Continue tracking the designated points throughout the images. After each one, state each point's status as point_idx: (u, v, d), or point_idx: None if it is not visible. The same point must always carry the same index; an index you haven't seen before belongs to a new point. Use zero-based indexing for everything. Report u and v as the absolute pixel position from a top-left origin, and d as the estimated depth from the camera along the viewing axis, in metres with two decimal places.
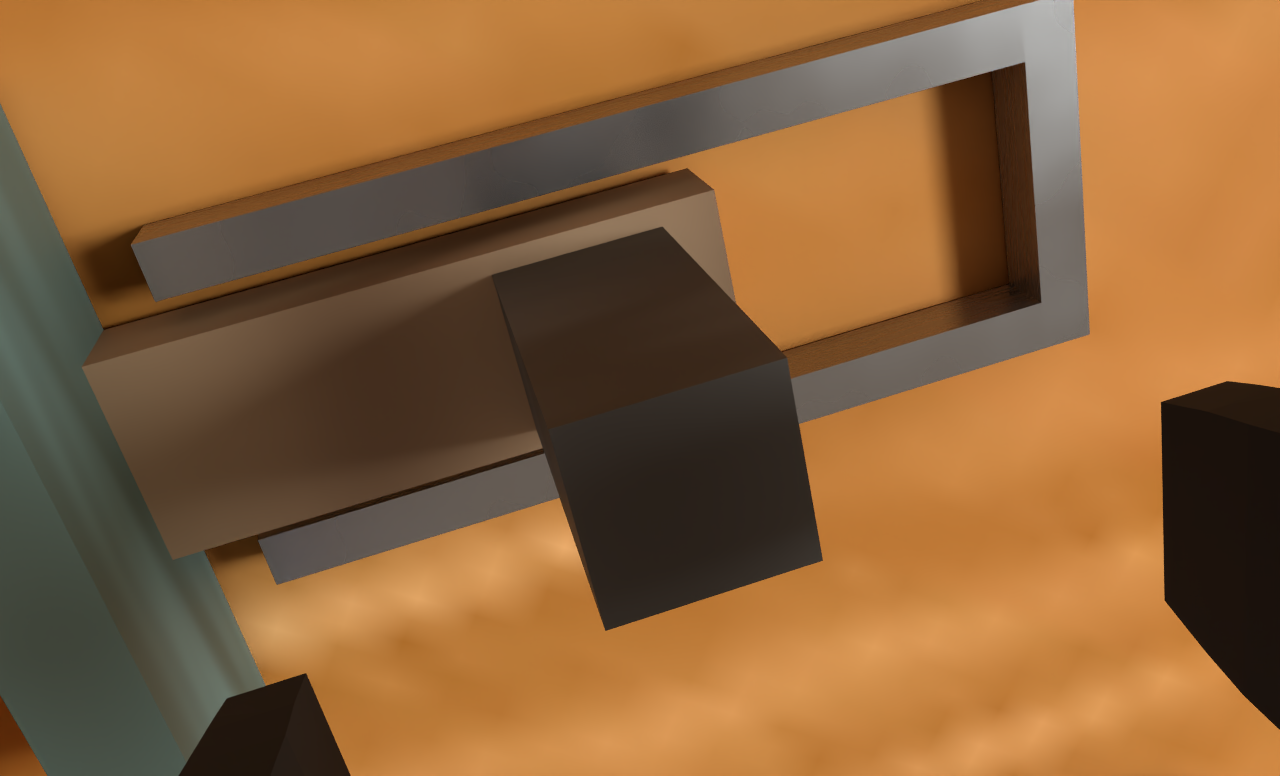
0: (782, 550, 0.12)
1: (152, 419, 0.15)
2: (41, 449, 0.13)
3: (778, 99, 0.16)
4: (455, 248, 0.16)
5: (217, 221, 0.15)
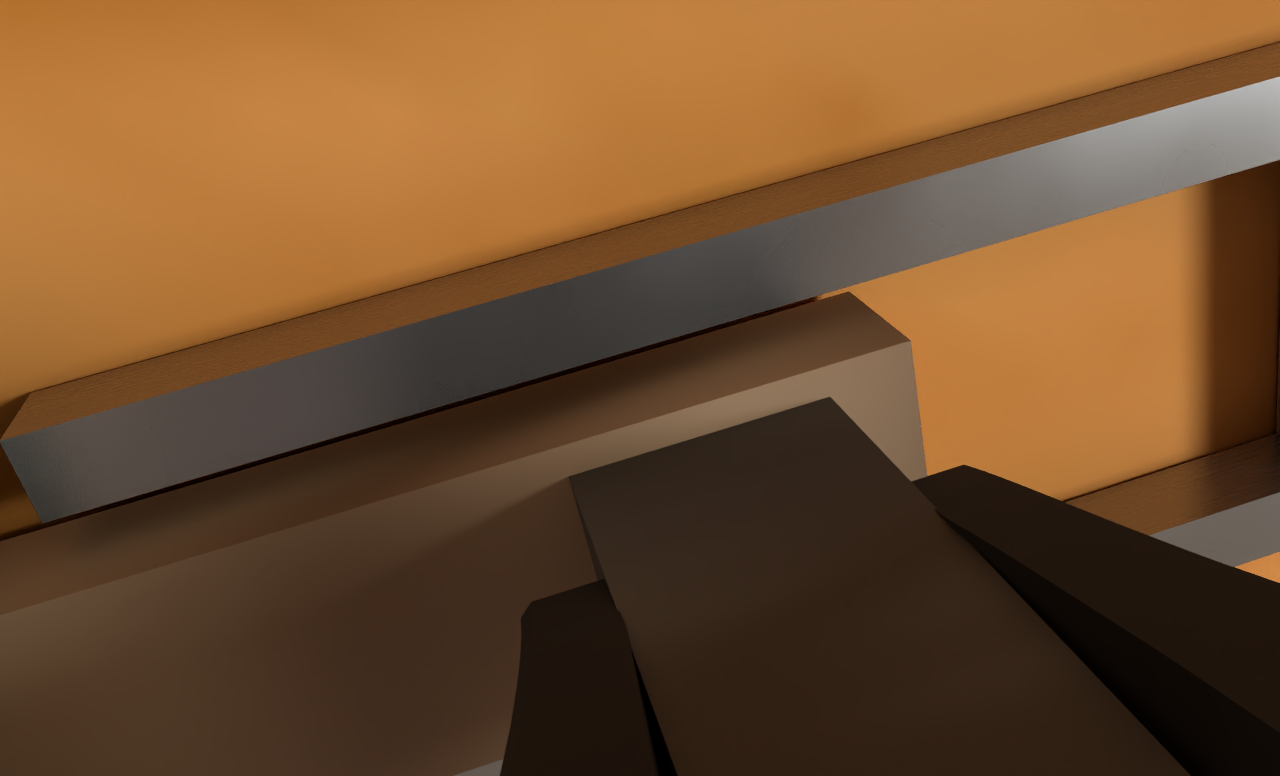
0: None
1: (36, 709, 0.10)
2: None
3: (1004, 197, 0.10)
4: (510, 428, 0.10)
5: (138, 401, 0.09)
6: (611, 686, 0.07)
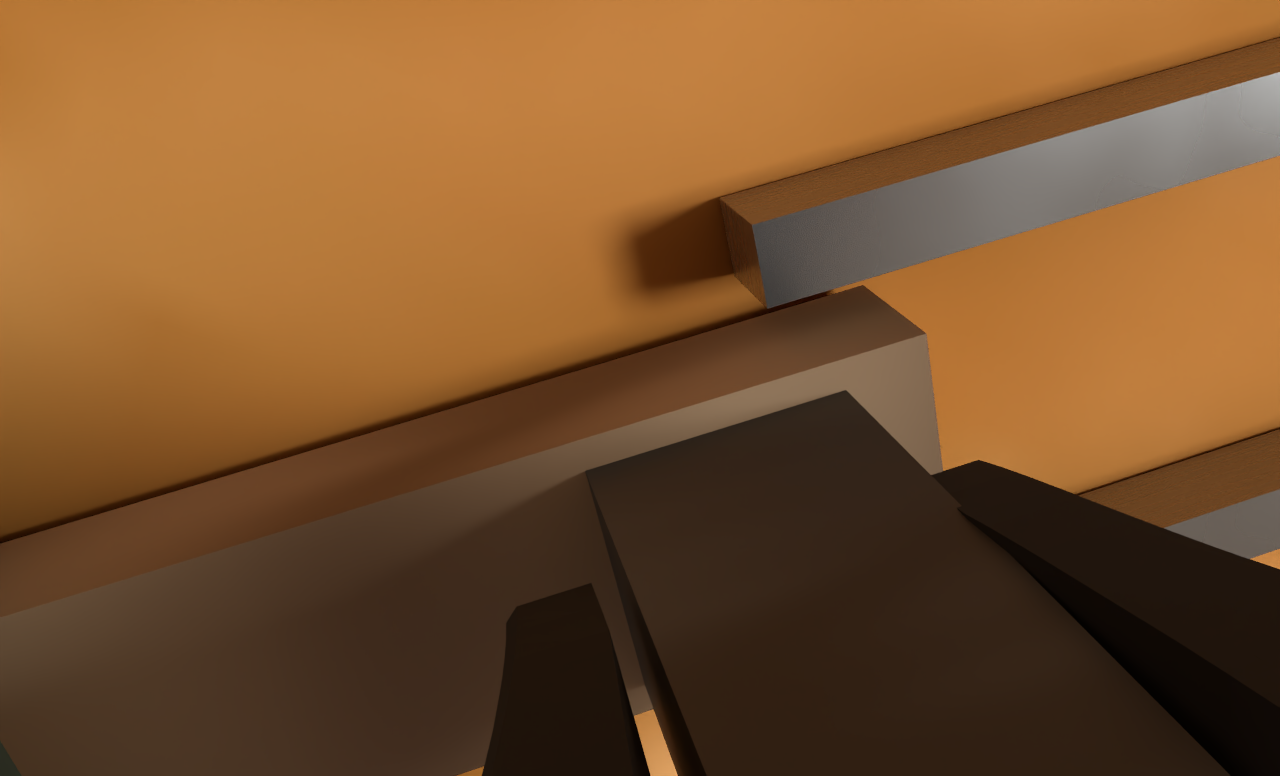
0: None
1: (55, 705, 0.10)
2: None
3: None
4: (526, 422, 0.10)
5: (871, 189, 0.10)
6: (593, 692, 0.07)
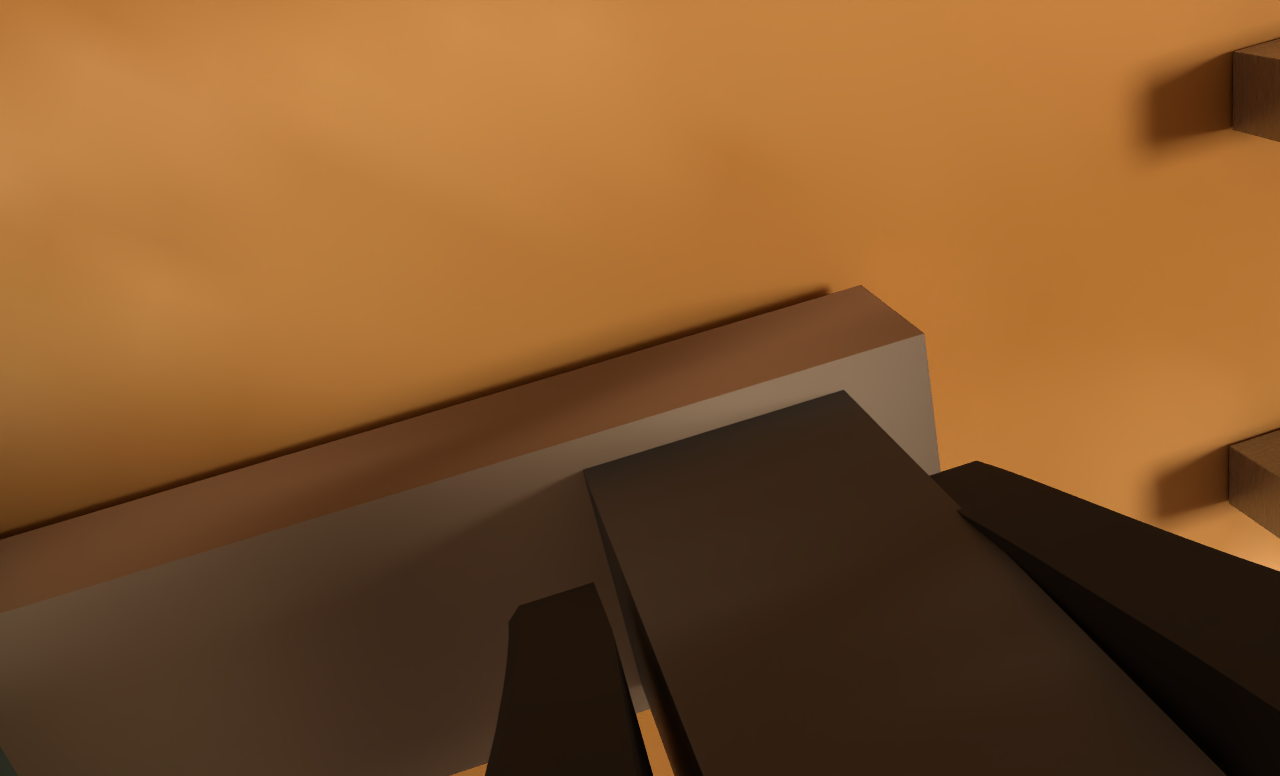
0: None
1: (51, 703, 0.10)
2: None
3: None
4: (524, 421, 0.10)
5: None
6: (596, 691, 0.07)
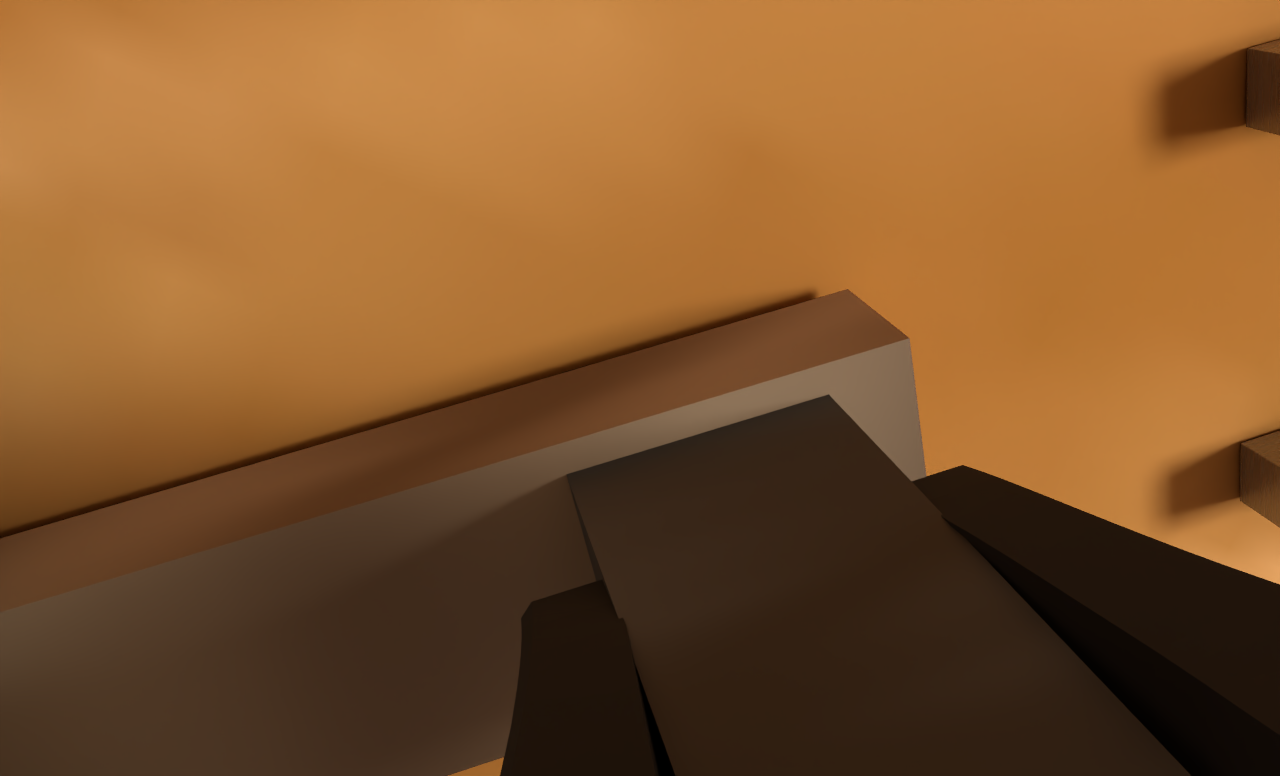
0: None
1: (33, 707, 0.09)
2: None
3: None
4: (509, 426, 0.10)
5: None
6: (611, 686, 0.07)
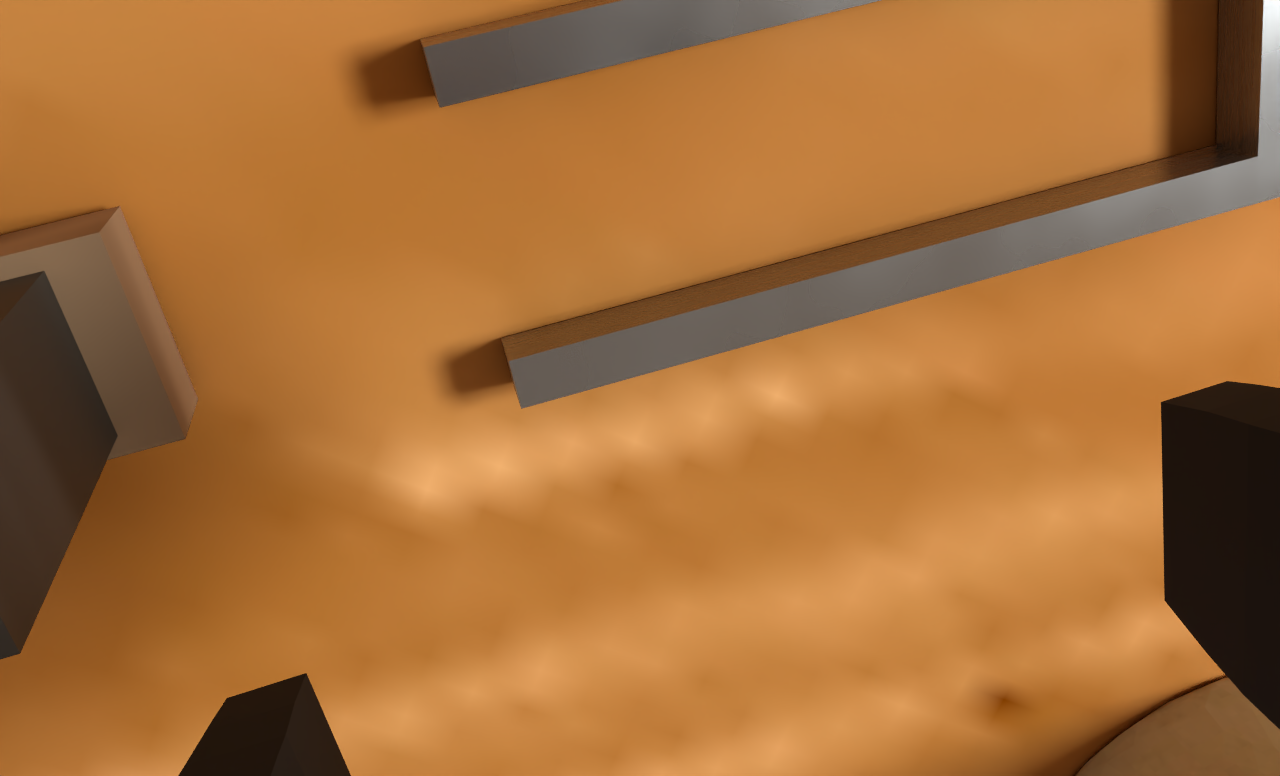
0: None
1: None
2: None
3: None
4: None
5: (505, 27, 0.15)
6: None
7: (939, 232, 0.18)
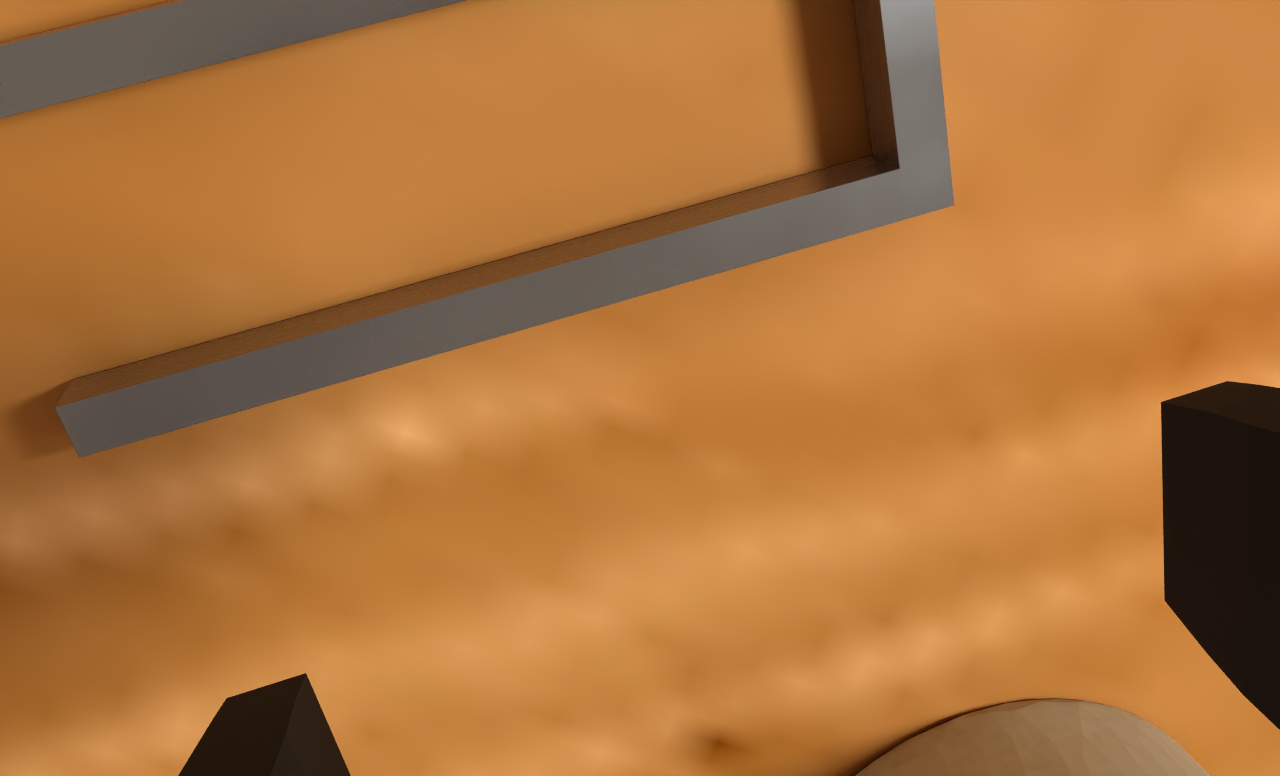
0: None
1: None
2: None
3: None
4: None
5: None
6: None
7: (550, 257, 0.17)
